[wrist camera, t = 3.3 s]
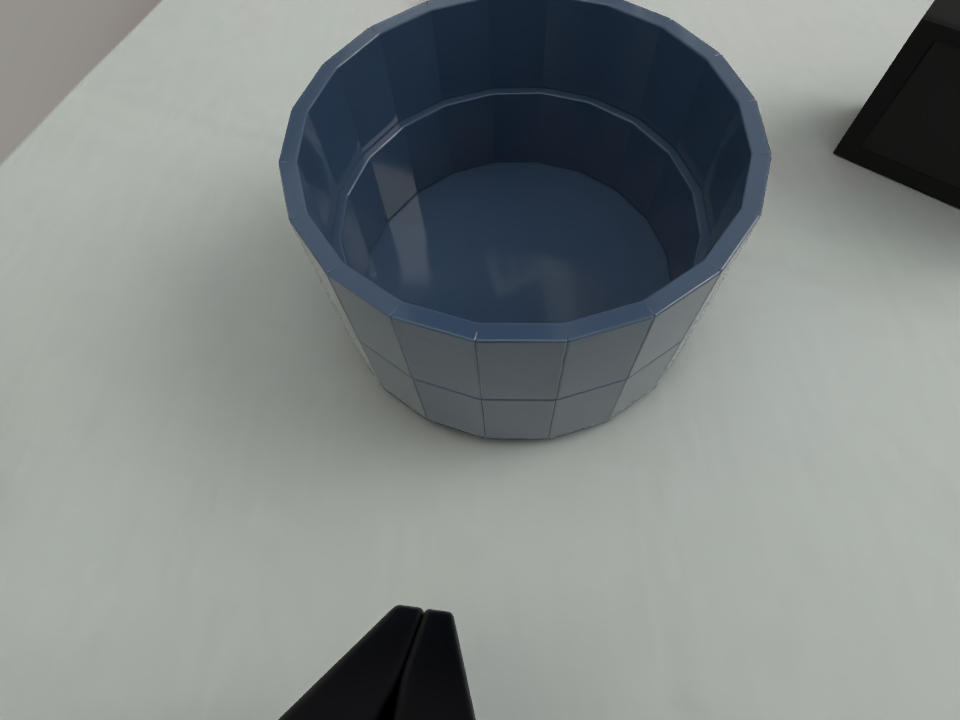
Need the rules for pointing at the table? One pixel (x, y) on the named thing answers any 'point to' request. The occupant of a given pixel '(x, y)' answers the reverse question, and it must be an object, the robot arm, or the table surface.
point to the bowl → (523, 203)
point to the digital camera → (916, 111)
